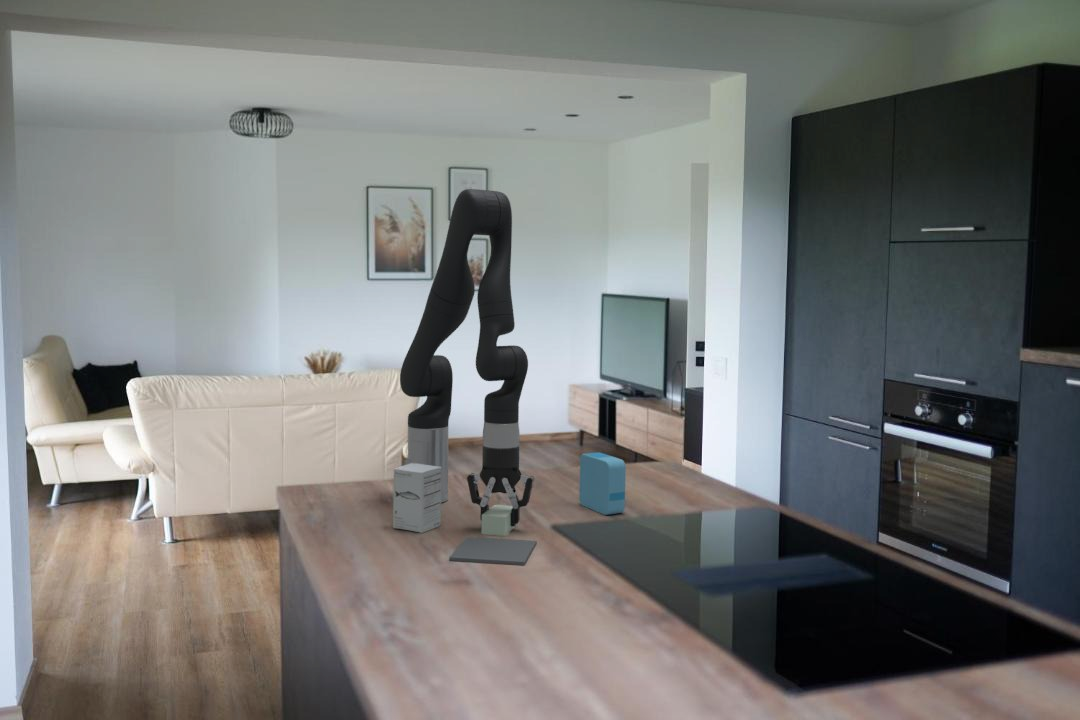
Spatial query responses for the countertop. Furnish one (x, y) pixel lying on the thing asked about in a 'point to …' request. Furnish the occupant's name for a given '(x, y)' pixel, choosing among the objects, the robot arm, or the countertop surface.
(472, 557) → the mat
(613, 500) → the blue box
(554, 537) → the countertop surface
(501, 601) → the countertop surface
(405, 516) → the supplement box
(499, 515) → the box
